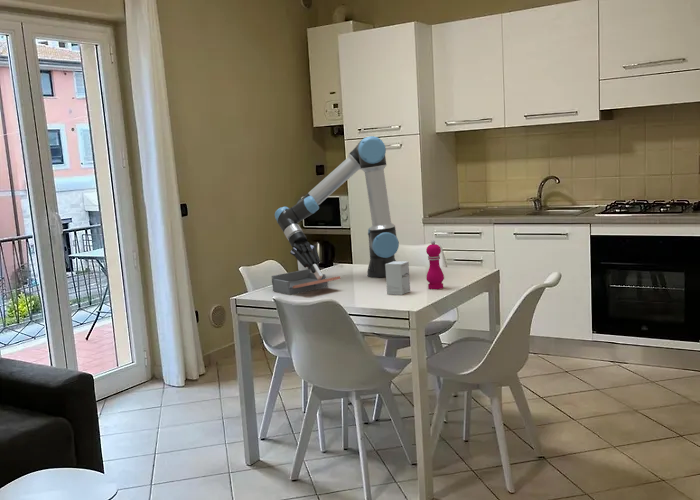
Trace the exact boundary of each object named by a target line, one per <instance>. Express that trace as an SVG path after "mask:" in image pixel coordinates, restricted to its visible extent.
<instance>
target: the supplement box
mask: <svg viewBox="0 0 700 500" xmlns="http://www.w3.org/2000/svg"><path fill="white" fill-rule="evenodd" d="M409 264H410V263H409V261H408V260H407V261H406V260H405V261H404V260H402V261H401V260H400V261H399V260H398V261H397V260H396V261H393V262H390V263H387V264H385V268H386V277H385V283H386V295H395V296H396V295H398V296H403V295H404V294H407V293H409V292H411V279H410V266H409Z"/></svg>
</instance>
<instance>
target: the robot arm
mask: <svg viewBox="0 0 700 500" xmlns="http://www.w3.org/2000/svg"><path fill="white" fill-rule="evenodd" d="M386 151H387V148H386V145H385V143H384V141H383V140H381V138H379V137H377V136H374V135H373V136H366V137H364V138H362V139H361V140H360V141H359V142H358V143H357V145H356V146H355V147H354V148H353V149H352V150H351V151H350V152H349V153H348V157H347V158H345V160H343V161H342V162H341V163H340V164H339V165H338V166H336V168H334V169H333V170H332V171H331V172H330V173H329V174H328V175H326V176H325V177H324V178H323V179H322V180H321V181H319V182H318V184H316V185H315V186H314V187H313V188H312V189H311V190H310V191H309V192H307V193H306V194H305V195H304V196H303V197H302V198H300V199H299V200H298V201H297V203H296V204H295V205H293V206H292V207H288V206H282V207H279V208H278V209H276V210H275V212H274V218H275V220H276V223H277V224H278V226H279V227H280V229H281V231H282V232H283V234H284V236H285V238H286V239H287V240H288V243H289V245H290V246H291V250H290V255H292V256H293V257H294V258H295V259H296V260H298V261H299V262H300V263H301V264H302V265H303V266H304V267H305V268H306V267H308V269H310V270H311V272H312V273H314V274H315V276H316V278H317V279H318V280H320V279H321V278H322V276H323V275H322V274H323V273H322V272H321V267H320V266H319V265H320V262H321V259H320V256H319V253H318V250H317V245H316V244H314V245H312V244H311V243H310V242H309V241H308V239H307V236H306V234H305V233H304V232H303V229H302V228H301V226H300V225H299V223H300V222H301V221H303V220H305V219H306V218H308V217H310V216H312V215H313V214H315V213H316V212H317V211H318V210H319V209H320V205H321V204H322V203H323V202H324V201H325V200H326V199H328V197H330V196H331V195H332V194H333V193H334V192H335V191H336V190H338V189H339V188H340V187H341V186H342V185H343V184H344V183H346V181H348V180H349V179H350V178H352V176H354V175H355V174H356V173H357V172H358V171H360V170H361V171H363V172H364V176H365V185H366V190H367V196H368V197H367V198H368V204H369V205H368V206H369V212H370V219H371V224H372V225H371V226H370V227H369V228H368V229H367V235H368V247H369V262H368V263H369V264H368V267H367V272H366V273H367V276H368V278H369V277H370V278H386V268H385V264H387V263H390V262H393V261H397V260H396V258H395V255H396V253H397V252H398V250H399V247H400V243H399V239H398V237H397V230H396V225H395V224H394V223H392V220H391V211H390V205H389V197H388V191H387V183H386V177H385V169H386V167H387V159H386ZM298 261H297V262H298Z"/></svg>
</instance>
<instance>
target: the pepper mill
mask: <svg viewBox="0 0 700 500" xmlns="http://www.w3.org/2000/svg"><path fill="white" fill-rule="evenodd" d="M441 252H442V249H441V246H440V245H439V244H436V240H433V239H432V240H431V242H430V244H429V245H428V246H427V247H426V254H427V255H428V256H427V258H428V261H429V267H428V271H427V272H426V281H427V282H428V284H427V285H428V286H427V289H428V290H431V289H437V290H442V289H444V283H443V282H444V280H445V276H444V272H443V271H442V270H443V269H441V265H440V260H441Z"/></svg>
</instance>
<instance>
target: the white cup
mask: <svg viewBox="0 0 700 500" xmlns="http://www.w3.org/2000/svg"><path fill="white" fill-rule="evenodd" d="M296 260H297V259H296ZM296 262H297V269H298V271H300V270H306V269H308V267H306V268H305V267H304V266H303V265H302V264H301V263H300V262H299V261H298V260H297V261H296ZM310 271H311V270H310Z"/></svg>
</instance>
